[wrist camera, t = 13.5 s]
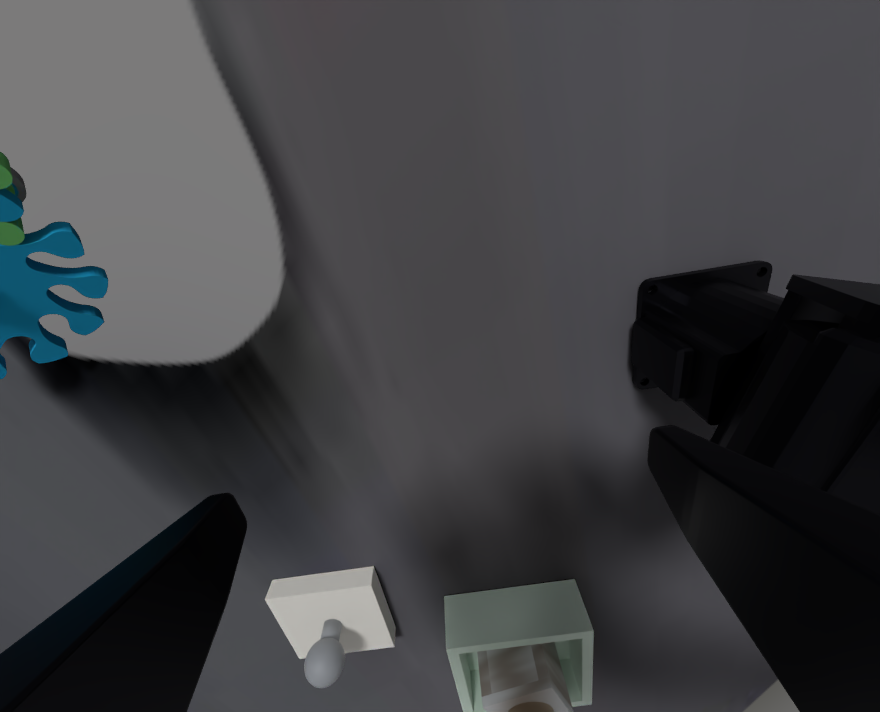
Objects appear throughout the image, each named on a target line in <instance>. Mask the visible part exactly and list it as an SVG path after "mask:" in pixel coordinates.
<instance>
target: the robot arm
mask: <svg viewBox="0 0 880 712" xmlns="http://www.w3.org/2000/svg"><path fill="white" fill-rule="evenodd" d="M760 268H761V270H760V272H759V273H758V274H757V271H758V270H759V269H760ZM771 273H772V266H771V264H770V263H768V262H764V261H753V262H747V263H740V264H734V265H728V266H722V267H716V268H710V269H704V270H698V271H692V272H686V273H680V274H673V275H667V276H661V277H655V278H649V279H646V280H645V281H643V282H642V283H641V285H640V287H639V296H638V310H637V319H636V321H635V322H634V326H633V342H632V357H631V362H632V364H634V369H633V383H634V384H635V385H636V386H637V387H638V388H639V389H649V388H656V387H659V388H660V389H661V390H662V391H664V392H665V393H666V394H667V395H668V396H669V397H670V398H672V399H673V400H674V401H683V402H684V403H685V404H687V405H688V406H689V407H690V408H691V409H692V410H693V411H695V412H696V413H697V414H698V415H699V416H700V417H701V418H703V419H704V420H705V421H706V422H707V423H708V424H710V425H718V424H719V425H718V427H717V429H716V431H715V433H714V435H713V436H712V438H711V440H710V441H708V440H706V439H704V438H702V437H699V436H697V435H695V434H692V433H690V432H688V431H686V430H683V429H681V428H679V427H676V426H673V425H669V426H662V427H656V428H653V429H652V430H651V432H650V437H649V448H648V465H649V468H650V471H651V473H652V474H653V476H654V478H655V480H656V482H657V484H658V486H659V488H660V490H661V492H662V494H663V496H664V497H665V499H666V501H667V503H668V505H669V507H670V509H671V511H672V513H673V515H674V517H675V518H676V520H677V522H678V524H679V526H680V528H681V530H682V532H683V533H684V535H685V537H686V539H687V541H688V542H689V544H690V545H691V547H692V548H693V550H694V552H695V553H696V555H697V556H698V558H699V559H700V561H701V562H702V564H703V565H704V567H705V568H706V570H707V571H708V573H709V575H710V576H711V578H712V579H713V581H714V582H715V584H716V585H717V587H718V588H719V590H720V591H721V593H722V594H723V596H724V597H725V599H726V600H727V602H728V603H729V605H730V606H731V608H732V609H733V611H734V612H735V614H736V616H737V617H738V619H739V620H740V622H741V623H742V625H743V626H744V628H745V629H746V631H747V632H748V634H749V635H750V637H751V638H752V640H753V641H754V643H755V644H756V646H757V647H758V649H759V650H760V652H761V654H762V655H763V657H764V658H765V660H766V661H767V663H768V664H769V666H770V667H771V669H772V670H773V672H774V673H775V675H776V676H777V678H778V679H779V681H780V682H781V684H782V685H783V687H784V688H785V690H786V692H787V693H788V695H789V696H790V698H791V699H792V701H793V702H794V704H795V705H796V707H797V708H798V710H799V711H800V712H880V284H871V283H863V282H854V281H845V280H837V279H828V278H820V277H811V276H802V275H792V277H791V279H790V281H789V283H788V285H787V287H786V289H788V292H787V294H786V296H785V298H782V297H779V296H776V295H773V294H770V293H767V291H768V287H769V282H770V278H771ZM652 285H653V290H652V291H651V292H648V288H649V287H650V286H652ZM644 378H646V379H645V380H644V381H643V382H641V380H642V379H644ZM246 530H247V521H246V518H245V516H244V514H243V512H242V510H241V508H240V506H239V505H238V503H237V501H236V499H235V497H234V496H233V495H232V494H230V493H222V494H215V495H211V496H209V497H207V498H206V499H204V500H203V501H202V502H200V503H199V504H198V505H196V506H195V507H194V508H193V509H191V510H190V511H189V512H187V513H186V514H185V515H183V516H182V517H181V518H179V519H178V520H177V521H175V522H174V523H173V524H171V525H170V526H169V527H167V528H166V529H165V530H163V531H162V532H161V533H159V534H158V535H157V536H156V537H154V538H153V539H152V540H150V541H149V542H148V543H146V544H145V545H144V546H142V547H141V548H140V549H138V550H137V551H136V552H134V553H133V554H132V555H130V556H129V557H128V558H126V559H125V560H124V561H122V562H121V563H120V564H119V565H117V566H116V567H115V568H113V569H112V570H111V571H109V572H108V573H107V574H105V575H104V576H103V577H101V578H100V579H99V580H97V581H96V582H95V583H93V584H92V585H91V586H89V587H88V588H87V589H86V590H84V591H83V592H82V593H80V594H79V595H78V596H76V597H75V598H74V599H72V600H71V601H70V602H68V603H67V604H66V605H64V606H63V607H62V608H60V609H59V610H58V611H56V612H55V613H54V614H52V615H51V616H50V617H49V618H47V619H46V620H45V621H43V622H42V623H41V624H39V625H38V626H37V627H35V628H34V629H33V630H31V631H30V632H29V633H27V634H26V635H25V636H23V637H22V638H21V639H19V640H18V641H17V642H15V643H14V644H13V645H12V646H10V647H9V648H8V649H6V650H5V651H4V652H2V653H1V654H0V712H187V710H188V707H189V704H190V702H191V699H192V696H193V693H194V691H195V688H196V685H197V683H198V680H199V677H200V675H201V672H202V669H203V666H204V664H205V661H206V658H207V656H208V653H209V650H210V648H211V645H212V642H213V639H214V637H215V634H216V631H217V629H218V626H219V623H220V620H221V618H222V615H223V612H224V609H225V606H226V603H227V600H228V596H229V593H230V590H231V586H232V582H233V579H234V575H235V571H236V568H237V564H238V560H239V556H240V553H241V549H242V545H243V542H244V538H245V534H246Z"/></svg>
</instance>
